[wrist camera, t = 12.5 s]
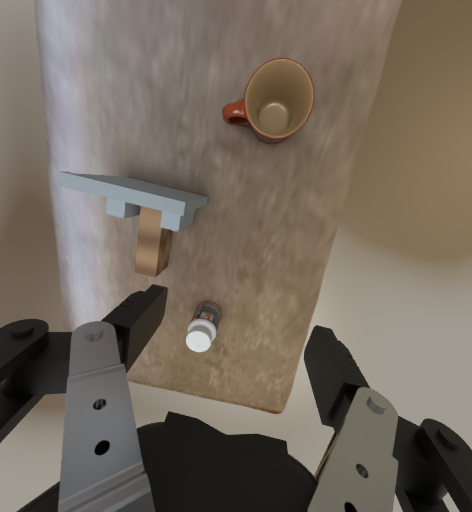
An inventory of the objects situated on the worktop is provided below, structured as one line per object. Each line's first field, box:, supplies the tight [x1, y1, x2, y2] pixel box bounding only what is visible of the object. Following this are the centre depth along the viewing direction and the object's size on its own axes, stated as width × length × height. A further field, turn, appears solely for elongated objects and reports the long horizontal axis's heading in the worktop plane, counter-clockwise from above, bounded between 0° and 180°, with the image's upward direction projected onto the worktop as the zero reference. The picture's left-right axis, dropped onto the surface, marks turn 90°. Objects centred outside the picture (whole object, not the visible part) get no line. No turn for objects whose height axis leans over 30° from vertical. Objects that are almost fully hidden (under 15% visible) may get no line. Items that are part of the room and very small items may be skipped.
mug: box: [222, 58, 314, 144], centre depth 33 cm, size 12×9×10 cm
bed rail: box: [135, 206, 172, 277], centre depth 42 cm, size 14×4×6 cm, turn 167°
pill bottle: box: [186, 302, 221, 352], centre depth 45 cm, size 6×6×10 cm
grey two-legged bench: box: [60, 171, 208, 232], centre depth 36 cm, size 6×16×15 cm, turn 77°
